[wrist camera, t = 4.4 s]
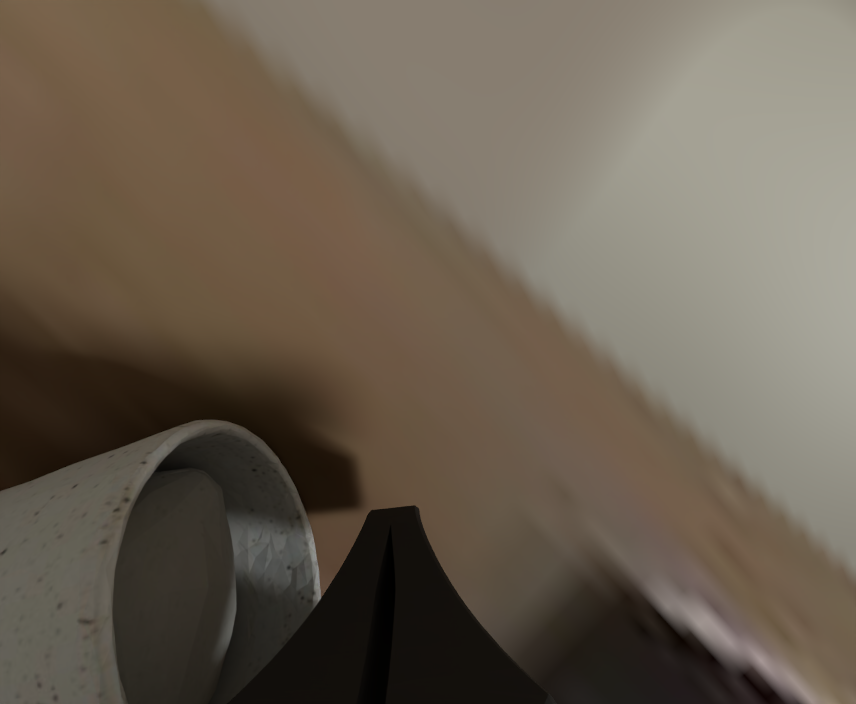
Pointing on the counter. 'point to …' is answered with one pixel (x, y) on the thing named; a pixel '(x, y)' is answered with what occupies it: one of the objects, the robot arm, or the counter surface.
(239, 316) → the counter surface
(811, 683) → the counter surface
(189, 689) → the ceramic mug
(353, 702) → the robot arm
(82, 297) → the counter surface
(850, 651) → the counter surface
